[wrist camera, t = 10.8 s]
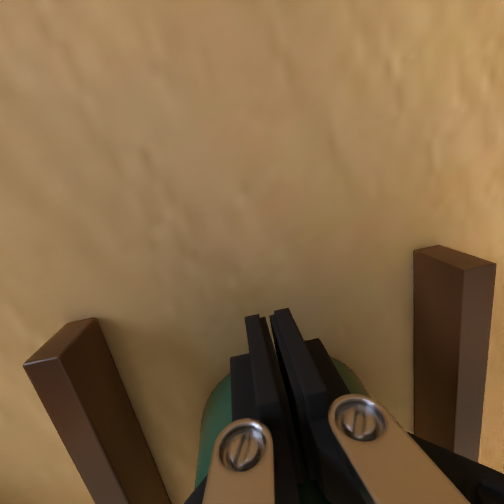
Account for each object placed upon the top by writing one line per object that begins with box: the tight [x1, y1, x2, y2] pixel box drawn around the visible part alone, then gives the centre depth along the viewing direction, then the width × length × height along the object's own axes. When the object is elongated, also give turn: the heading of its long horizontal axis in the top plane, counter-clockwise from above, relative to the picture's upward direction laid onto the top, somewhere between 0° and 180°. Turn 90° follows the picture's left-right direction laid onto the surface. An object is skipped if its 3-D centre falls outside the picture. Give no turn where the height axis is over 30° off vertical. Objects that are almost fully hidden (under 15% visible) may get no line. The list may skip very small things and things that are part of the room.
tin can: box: [195, 352, 371, 504], centre depth 10 cm, size 8×8×6 cm
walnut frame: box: [23, 245, 496, 504], centre depth 12 cm, size 14×16×2 cm
